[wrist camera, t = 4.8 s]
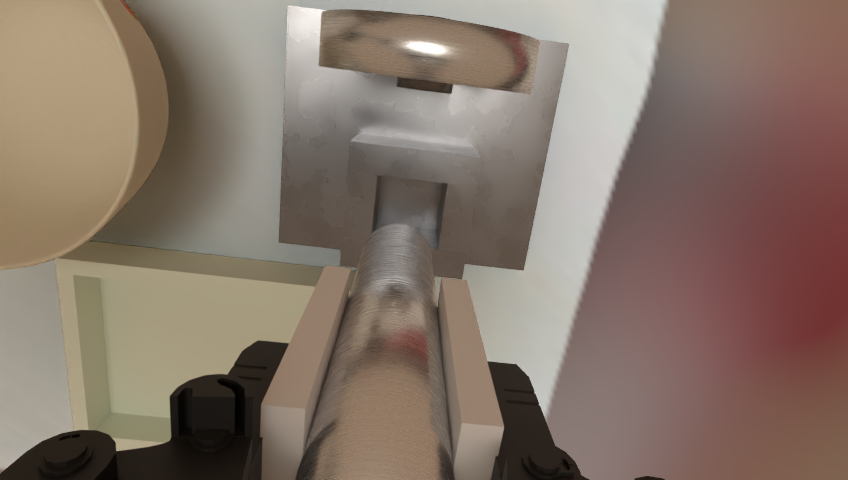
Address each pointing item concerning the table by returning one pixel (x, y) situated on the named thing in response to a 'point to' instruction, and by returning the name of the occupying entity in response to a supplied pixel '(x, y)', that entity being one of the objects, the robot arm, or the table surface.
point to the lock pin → (385, 373)
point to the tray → (164, 327)
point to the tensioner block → (415, 133)
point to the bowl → (73, 122)
